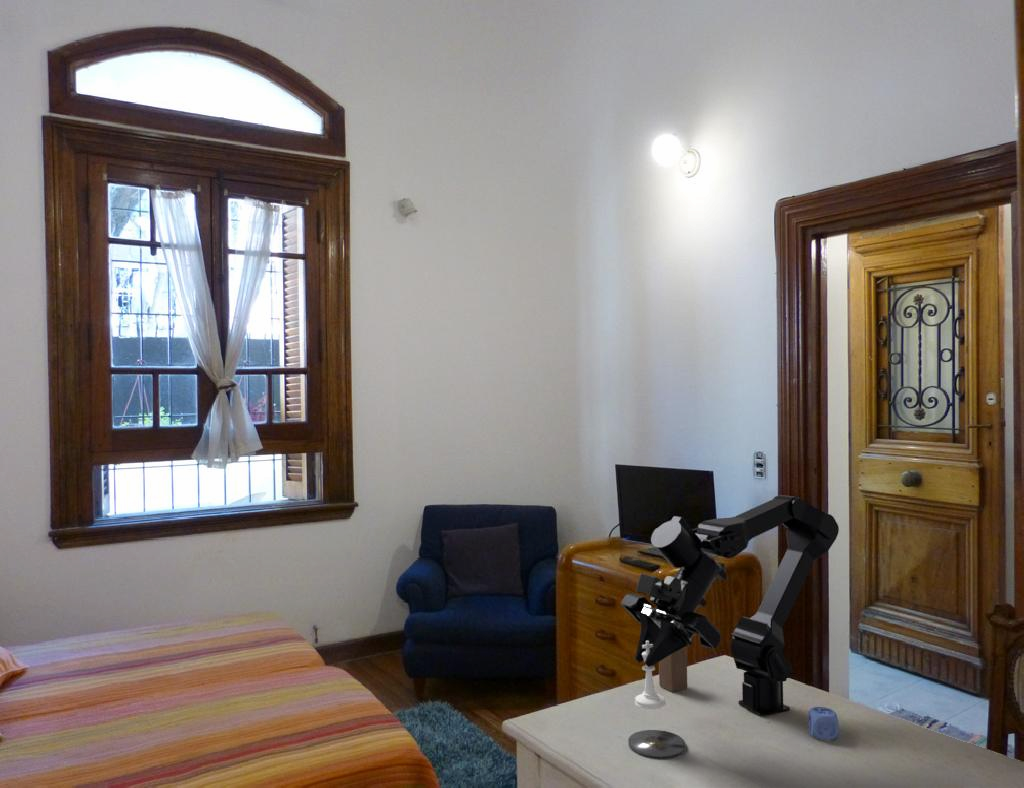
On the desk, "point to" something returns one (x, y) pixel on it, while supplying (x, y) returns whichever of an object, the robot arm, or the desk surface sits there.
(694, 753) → the desk surface
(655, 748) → the carrier plate
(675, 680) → the wooden block
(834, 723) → the decorative dice
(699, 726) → the desk surface
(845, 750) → the desk surface
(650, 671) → the chess piece
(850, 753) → the desk surface
